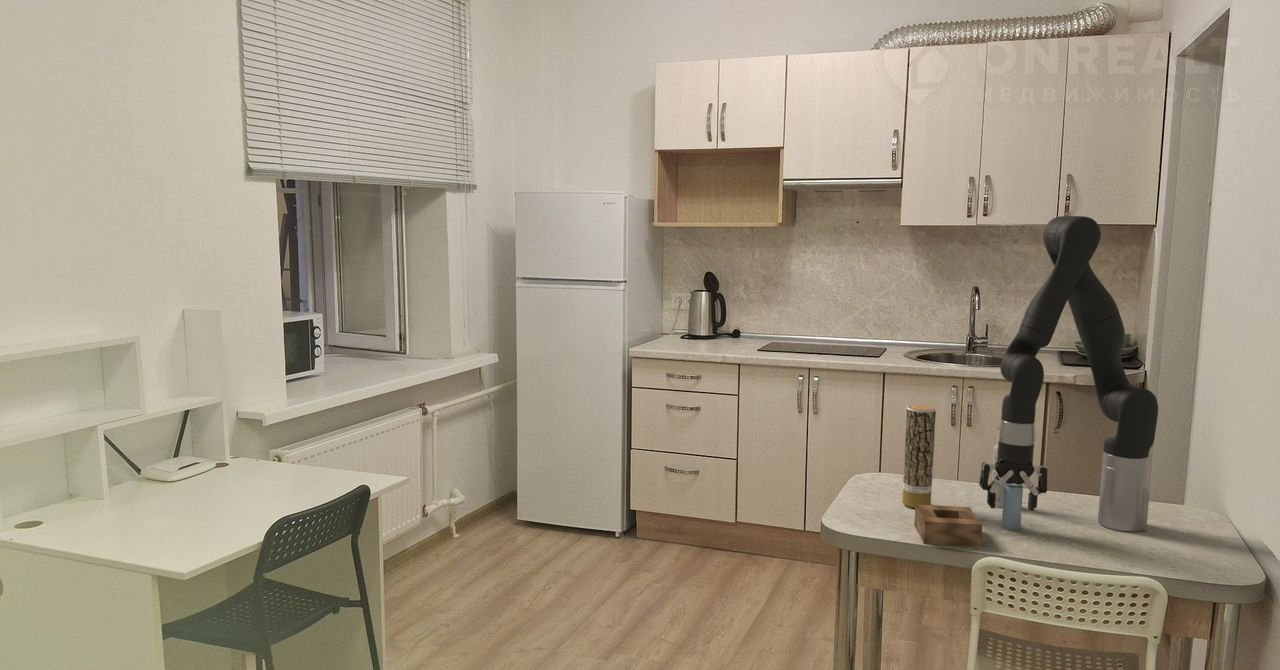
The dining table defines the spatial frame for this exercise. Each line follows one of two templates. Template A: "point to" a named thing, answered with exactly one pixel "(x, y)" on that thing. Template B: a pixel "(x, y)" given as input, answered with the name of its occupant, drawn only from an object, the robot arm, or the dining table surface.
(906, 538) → the dining table surface
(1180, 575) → the dining table surface
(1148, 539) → the dining table surface
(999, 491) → the bottle
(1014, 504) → the peg
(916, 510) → the socket block
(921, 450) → the brown bark cylinder
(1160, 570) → the dining table surface
